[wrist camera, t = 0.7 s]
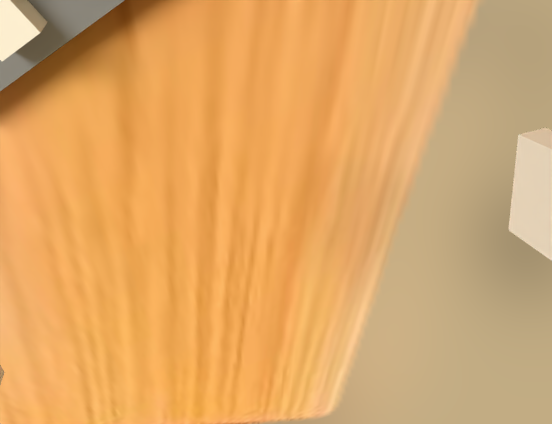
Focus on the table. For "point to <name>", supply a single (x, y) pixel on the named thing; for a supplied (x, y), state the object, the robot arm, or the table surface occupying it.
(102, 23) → the table surface
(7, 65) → the panel
